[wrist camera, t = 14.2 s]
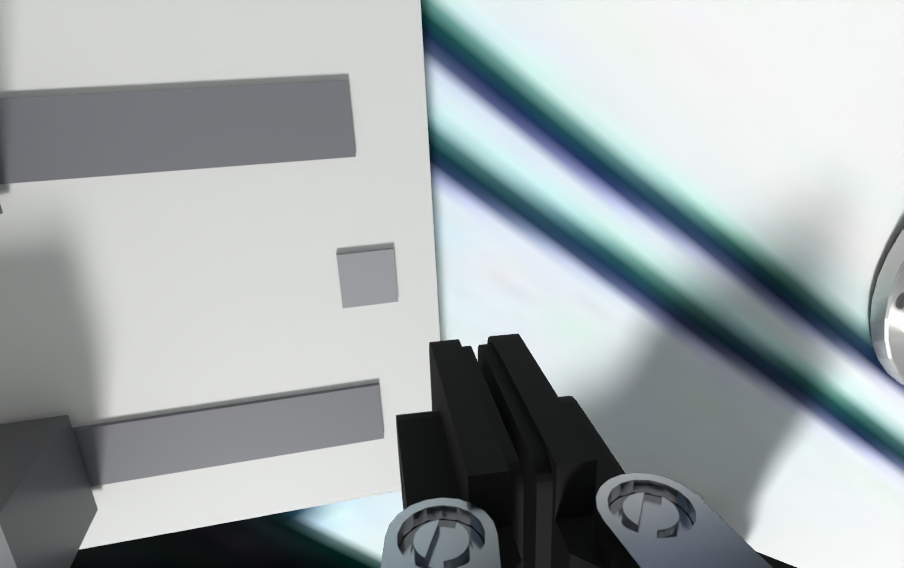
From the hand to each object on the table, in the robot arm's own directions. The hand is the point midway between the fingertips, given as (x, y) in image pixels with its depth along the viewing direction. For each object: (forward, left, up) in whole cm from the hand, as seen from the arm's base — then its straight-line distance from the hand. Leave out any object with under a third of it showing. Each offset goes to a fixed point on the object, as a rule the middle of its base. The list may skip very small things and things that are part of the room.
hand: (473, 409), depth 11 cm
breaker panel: (+9, +1, -13) cm, 16 cm away
